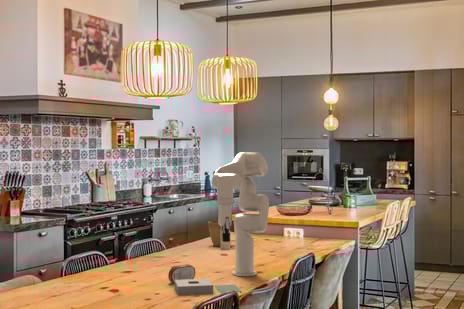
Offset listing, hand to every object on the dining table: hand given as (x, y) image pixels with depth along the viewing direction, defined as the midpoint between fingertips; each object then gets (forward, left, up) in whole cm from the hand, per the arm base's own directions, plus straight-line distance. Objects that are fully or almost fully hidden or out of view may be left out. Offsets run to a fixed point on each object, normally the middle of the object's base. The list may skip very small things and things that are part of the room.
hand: (225, 240), depth 283 cm
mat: (0, +1, -23) cm, 23 cm away
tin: (-19, -18, -23) cm, 35 cm away
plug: (0, 0, -4) cm, 4 cm away
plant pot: (-125, +19, -23) cm, 128 cm away
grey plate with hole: (0, -15, -23) cm, 27 cm away
